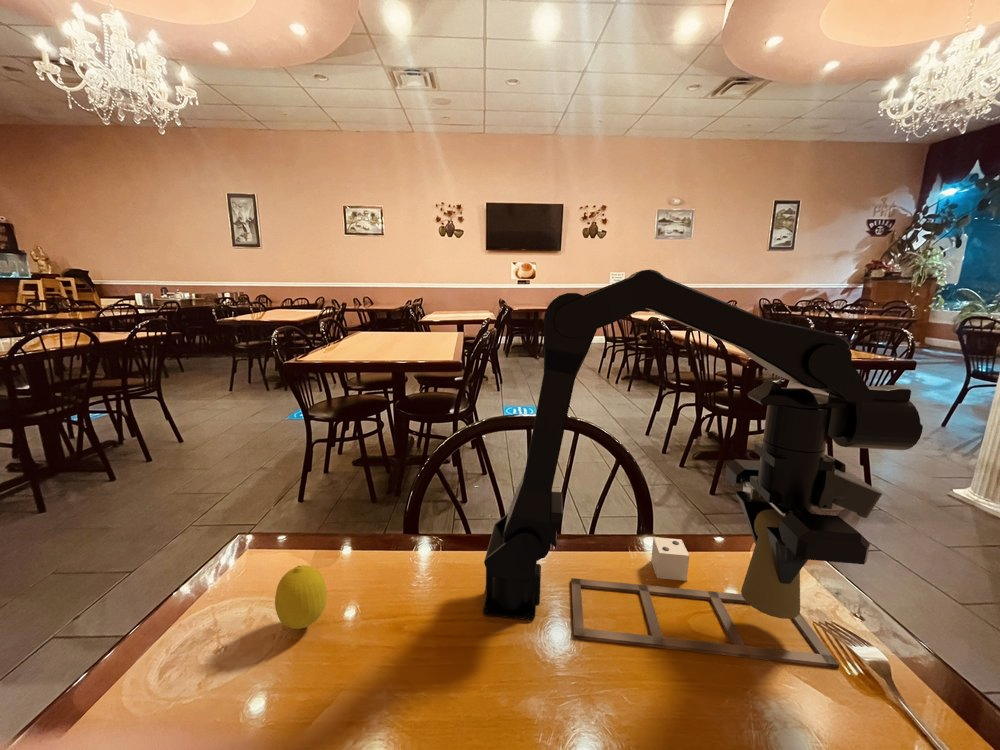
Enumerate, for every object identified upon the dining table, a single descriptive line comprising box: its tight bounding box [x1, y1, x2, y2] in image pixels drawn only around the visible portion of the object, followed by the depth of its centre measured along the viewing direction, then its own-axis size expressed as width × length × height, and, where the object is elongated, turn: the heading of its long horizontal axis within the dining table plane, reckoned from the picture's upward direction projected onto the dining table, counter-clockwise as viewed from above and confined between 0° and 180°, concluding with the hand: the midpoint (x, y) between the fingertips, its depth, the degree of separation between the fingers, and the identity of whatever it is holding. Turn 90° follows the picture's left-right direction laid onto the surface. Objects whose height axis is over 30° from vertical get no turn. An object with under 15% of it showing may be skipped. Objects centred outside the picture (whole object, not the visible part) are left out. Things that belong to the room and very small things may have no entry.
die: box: [650, 536, 690, 582], centre depth 62 cm, size 4×4×4 cm
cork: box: [740, 509, 801, 620], centre depth 50 cm, size 6×6×11 cm
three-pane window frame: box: [570, 577, 840, 669], centre depth 53 cm, size 28×10×1 cm, turn 82°
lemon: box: [274, 564, 328, 630], centre depth 50 cm, size 6×6×8 cm
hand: (774, 569), depth 50 cm, fingers closed on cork, 4 cm apart
